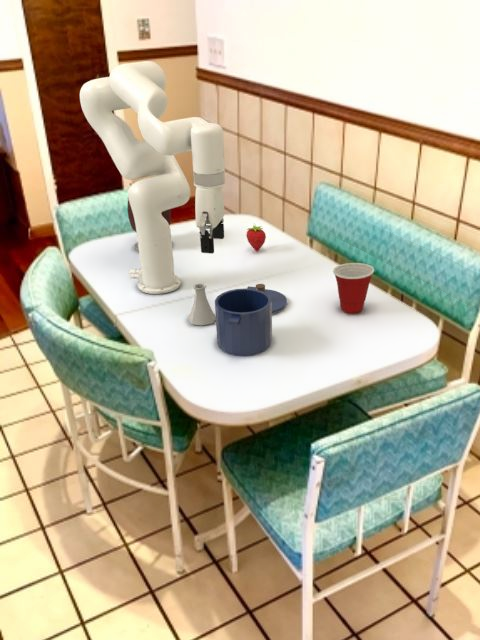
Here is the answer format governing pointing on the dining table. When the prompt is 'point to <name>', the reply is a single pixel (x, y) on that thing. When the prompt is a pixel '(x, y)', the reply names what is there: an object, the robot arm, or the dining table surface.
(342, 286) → the plastic cup
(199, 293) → the flask
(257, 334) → the pot
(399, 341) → the dining table surface
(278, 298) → the pot lid
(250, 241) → the strawberry
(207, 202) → the robot arm
